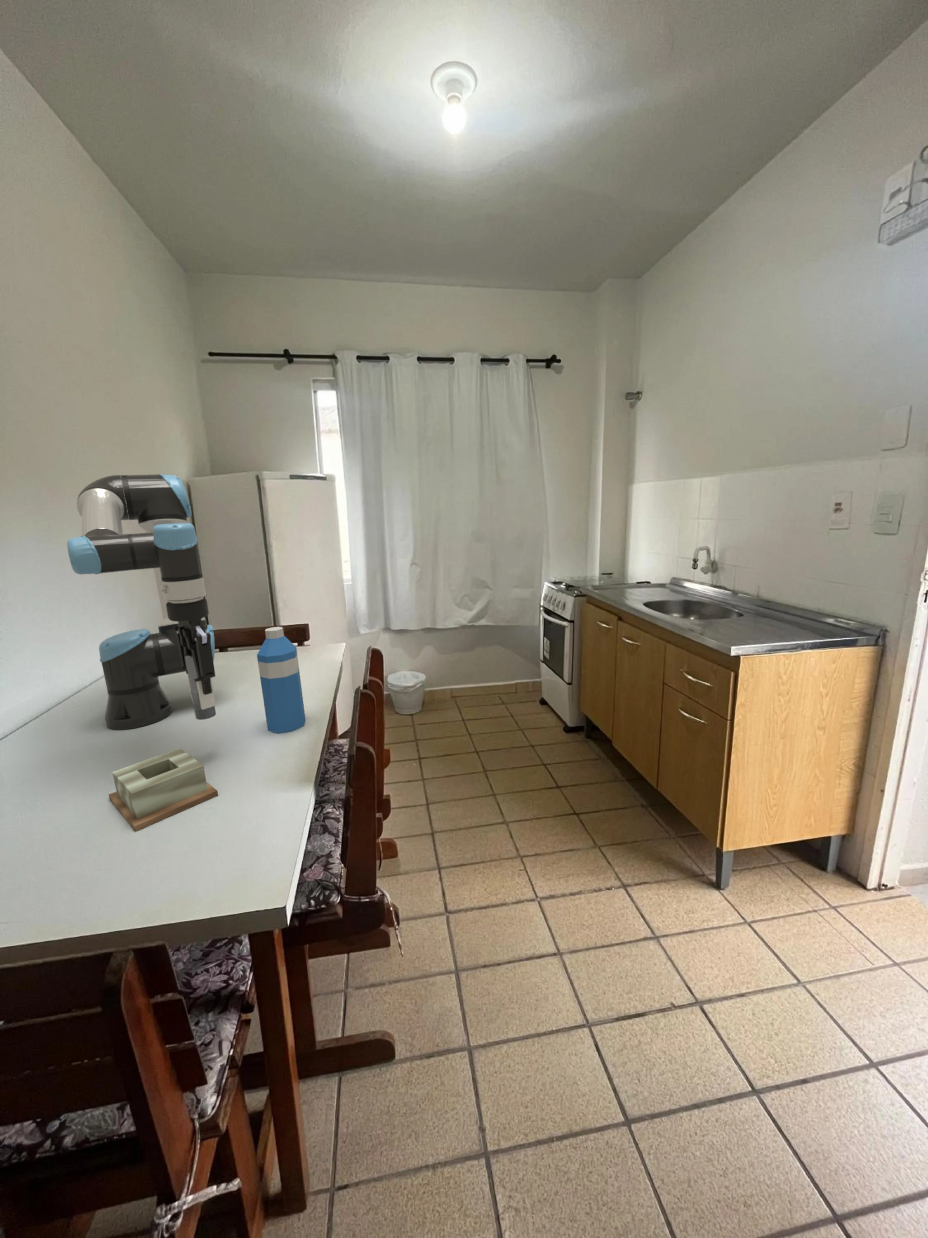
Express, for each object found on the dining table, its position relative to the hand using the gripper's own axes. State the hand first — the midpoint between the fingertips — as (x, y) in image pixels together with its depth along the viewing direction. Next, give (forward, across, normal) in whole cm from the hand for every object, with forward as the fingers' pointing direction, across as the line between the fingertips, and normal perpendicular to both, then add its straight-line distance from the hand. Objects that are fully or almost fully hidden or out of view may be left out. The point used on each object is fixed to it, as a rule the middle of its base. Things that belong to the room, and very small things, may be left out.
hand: (203, 704), depth 111 cm
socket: (+12, +10, -13) cm, 20 cm away
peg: (+3, 0, 0) cm, 3 cm away
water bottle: (+13, -1, +19) cm, 23 cm away
